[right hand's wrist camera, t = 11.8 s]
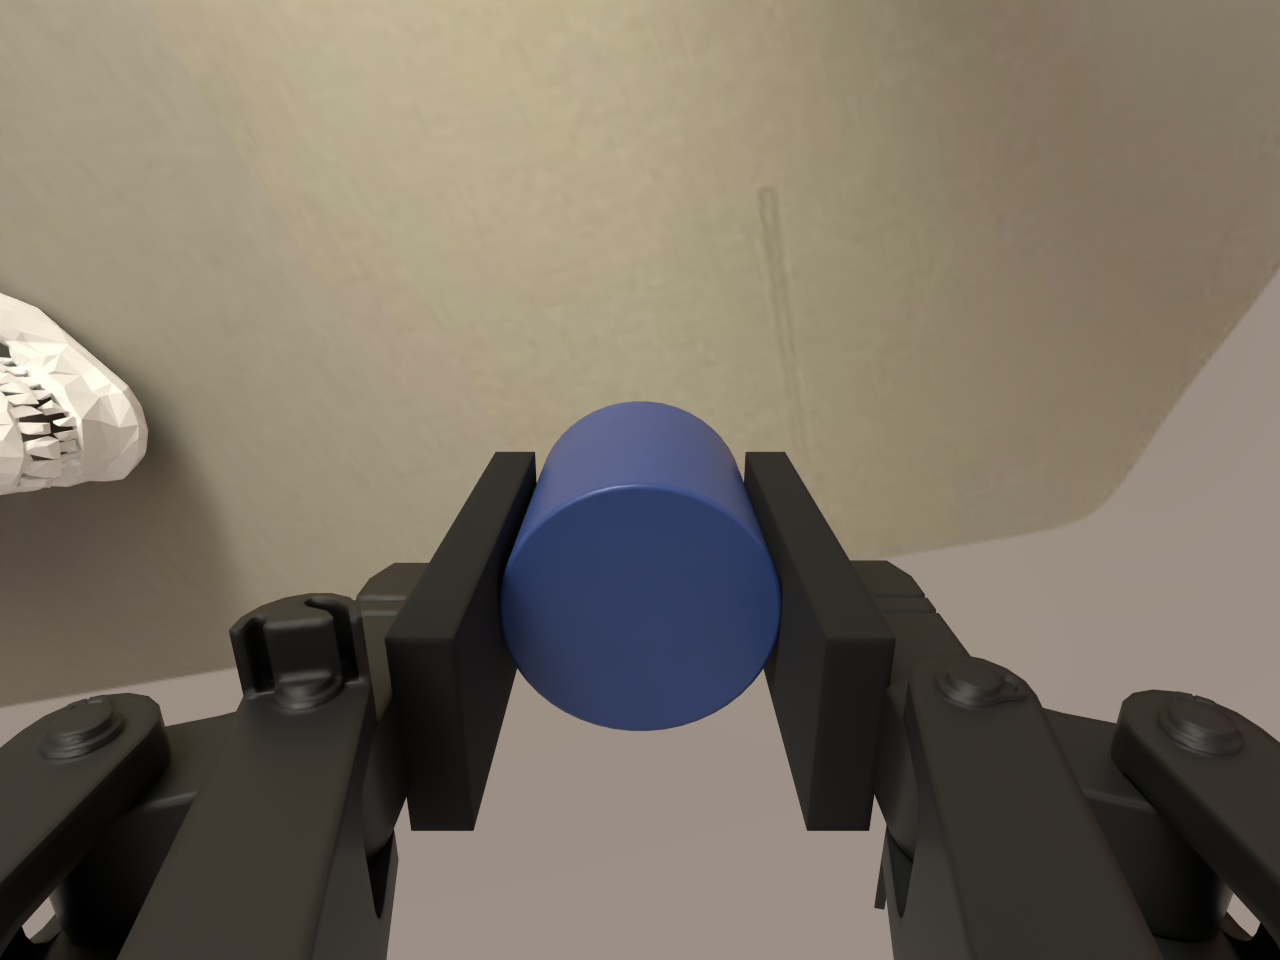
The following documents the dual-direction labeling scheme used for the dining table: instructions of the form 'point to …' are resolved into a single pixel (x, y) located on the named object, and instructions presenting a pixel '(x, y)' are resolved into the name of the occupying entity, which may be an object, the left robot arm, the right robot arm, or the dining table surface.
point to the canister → (640, 573)
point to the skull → (61, 408)
